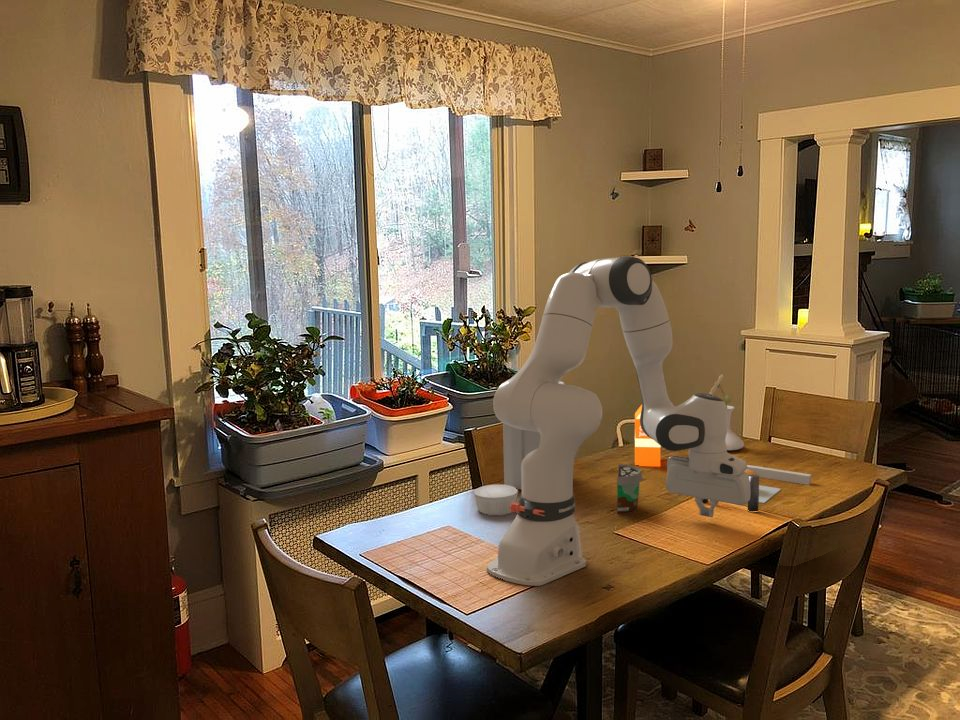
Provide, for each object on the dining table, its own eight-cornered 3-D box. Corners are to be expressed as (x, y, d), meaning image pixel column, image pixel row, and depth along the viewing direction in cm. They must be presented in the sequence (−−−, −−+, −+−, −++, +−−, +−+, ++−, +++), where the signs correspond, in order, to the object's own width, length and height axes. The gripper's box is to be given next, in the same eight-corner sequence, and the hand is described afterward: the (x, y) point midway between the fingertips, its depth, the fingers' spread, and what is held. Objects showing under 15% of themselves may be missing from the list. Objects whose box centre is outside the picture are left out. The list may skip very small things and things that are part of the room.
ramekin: (465, 510, 209) (465, 491, 209) (495, 500, 217) (495, 481, 216) (497, 520, 202) (496, 500, 201) (526, 509, 209) (526, 489, 209)
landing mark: (763, 503, 209) (764, 502, 209) (711, 494, 217) (711, 493, 217) (781, 489, 220) (781, 488, 220) (730, 481, 228) (730, 480, 228)
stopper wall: (808, 485, 223) (809, 476, 223) (723, 471, 238) (724, 463, 237) (810, 483, 225) (811, 474, 224) (726, 469, 239) (726, 461, 239)
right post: (756, 513, 202) (757, 478, 201) (746, 511, 204) (746, 476, 202) (759, 510, 204) (760, 475, 203) (749, 508, 206) (750, 474, 204)
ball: (763, 474, 220) (759, 495, 218) (741, 471, 223) (737, 492, 222) (757, 469, 215) (753, 491, 214) (735, 465, 219) (730, 487, 217)
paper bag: (536, 497, 218) (534, 395, 214) (503, 484, 230) (501, 388, 226) (588, 484, 229) (588, 386, 225) (554, 472, 241) (553, 379, 237)
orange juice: (634, 465, 246) (634, 401, 243) (634, 458, 254) (634, 395, 251) (661, 466, 244) (661, 401, 241) (659, 458, 253) (660, 395, 250)
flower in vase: (720, 442, 270) (722, 368, 267) (751, 448, 262) (753, 372, 258) (697, 449, 262) (698, 373, 258) (728, 456, 253) (730, 377, 250)
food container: (642, 516, 201) (642, 478, 200) (617, 515, 203) (617, 477, 201) (642, 501, 213) (642, 464, 212) (618, 500, 215) (618, 463, 213)
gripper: (661, 457, 198) (661, 511, 200) (744, 470, 186) (742, 527, 188) (672, 451, 203) (671, 504, 205) (753, 463, 191) (752, 519, 193)
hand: (706, 515), depth 197 cm, fingers closed
